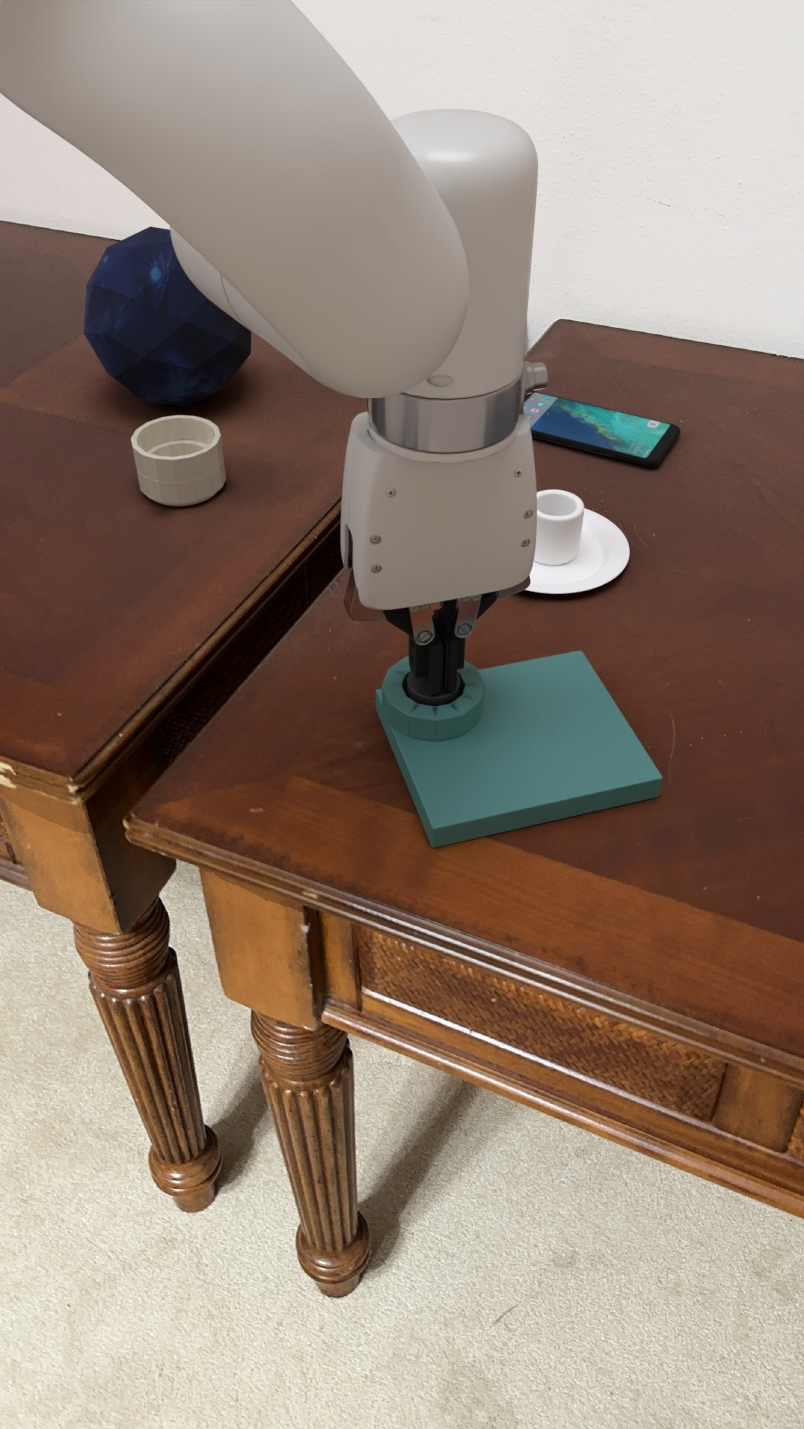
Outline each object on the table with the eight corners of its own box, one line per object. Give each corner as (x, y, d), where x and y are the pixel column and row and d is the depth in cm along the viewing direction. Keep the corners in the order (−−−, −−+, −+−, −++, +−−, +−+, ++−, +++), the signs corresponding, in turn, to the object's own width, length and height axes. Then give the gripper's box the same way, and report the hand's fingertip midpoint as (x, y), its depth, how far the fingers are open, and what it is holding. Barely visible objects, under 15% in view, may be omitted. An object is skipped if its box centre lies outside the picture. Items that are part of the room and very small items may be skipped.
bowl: (145, 515, 86) (136, 464, 83) (135, 470, 91) (126, 421, 88) (232, 501, 88) (226, 451, 85) (218, 459, 93) (212, 410, 90)
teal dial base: (431, 849, 62) (432, 807, 60) (372, 703, 71) (371, 662, 68) (658, 797, 65) (668, 755, 62) (575, 663, 74) (581, 622, 71)
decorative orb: (145, 406, 88) (208, 219, 85) (24, 354, 95) (79, 180, 92) (252, 445, 101) (310, 284, 98) (138, 398, 107) (190, 245, 104)
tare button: (415, 723, 66) (415, 702, 65) (400, 689, 69) (400, 668, 67) (465, 713, 67) (467, 692, 66) (449, 679, 69) (450, 658, 68)
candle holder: (479, 605, 78) (482, 555, 75) (459, 512, 87) (461, 464, 84) (645, 597, 79) (655, 547, 76) (608, 506, 88) (616, 457, 85)
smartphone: (524, 387, 100) (683, 425, 95) (523, 395, 101) (682, 433, 96) (491, 421, 96) (657, 463, 91) (490, 429, 96) (655, 471, 91)
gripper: (556, 346, 58) (528, 620, 71) (278, 384, 55) (301, 662, 68) (615, 413, 53) (574, 695, 65) (311, 458, 50) (330, 745, 62)
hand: (435, 678), depth 67 cm, fingers closed
